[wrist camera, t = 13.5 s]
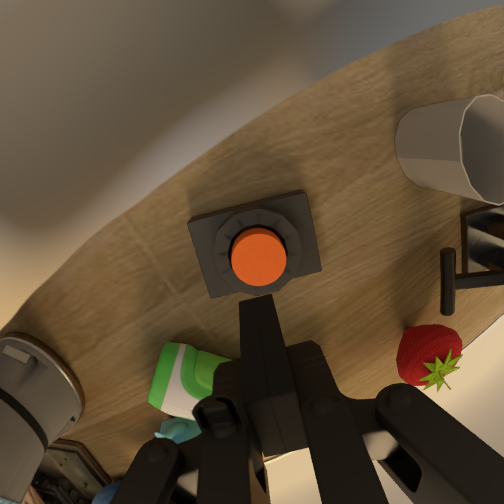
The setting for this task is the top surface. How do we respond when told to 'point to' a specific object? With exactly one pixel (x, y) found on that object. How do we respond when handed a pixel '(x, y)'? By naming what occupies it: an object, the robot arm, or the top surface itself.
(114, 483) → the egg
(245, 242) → the button
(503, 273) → the lever
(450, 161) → the cup
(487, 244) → the bracket
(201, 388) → the speaker
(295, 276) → the control block
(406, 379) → the strawberry
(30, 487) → the broken wood plank
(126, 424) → the top surface
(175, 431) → the teapot
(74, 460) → the tank diorama
